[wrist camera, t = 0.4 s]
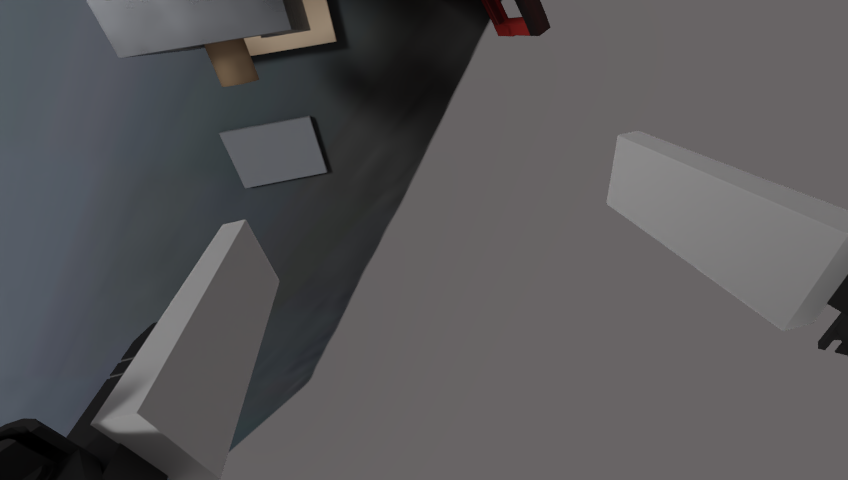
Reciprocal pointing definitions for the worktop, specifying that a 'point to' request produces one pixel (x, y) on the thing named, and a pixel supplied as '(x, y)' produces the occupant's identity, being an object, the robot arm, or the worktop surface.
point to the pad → (275, 151)
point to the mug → (527, 25)
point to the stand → (268, 46)
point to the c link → (193, 22)
